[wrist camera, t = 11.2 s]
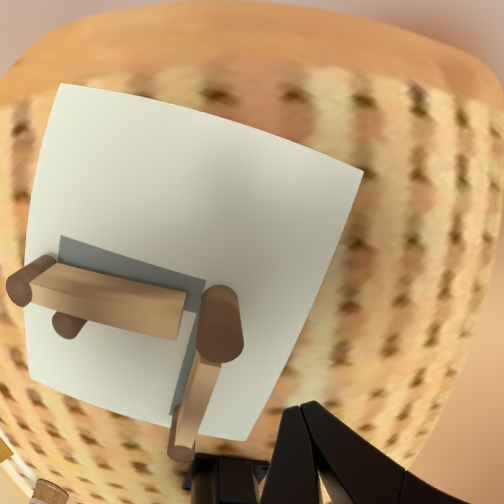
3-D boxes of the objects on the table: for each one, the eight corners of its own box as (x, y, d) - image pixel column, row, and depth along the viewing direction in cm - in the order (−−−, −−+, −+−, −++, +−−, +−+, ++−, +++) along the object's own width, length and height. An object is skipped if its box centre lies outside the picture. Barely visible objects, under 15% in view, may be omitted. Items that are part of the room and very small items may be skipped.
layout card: (244, 438, 20) (245, 442, 20) (31, 375, 17) (29, 378, 17) (361, 171, 15) (364, 171, 15) (63, 84, 12) (60, 83, 12)
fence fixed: (196, 418, 19) (194, 467, 15) (71, 381, 17) (49, 422, 13) (242, 288, 16) (250, 330, 12) (80, 239, 15) (40, 265, 11)
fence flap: (187, 287, 15) (180, 317, 12) (182, 314, 15) (175, 349, 12) (37, 252, 14) (5, 271, 11) (37, 278, 14) (7, 301, 11)
